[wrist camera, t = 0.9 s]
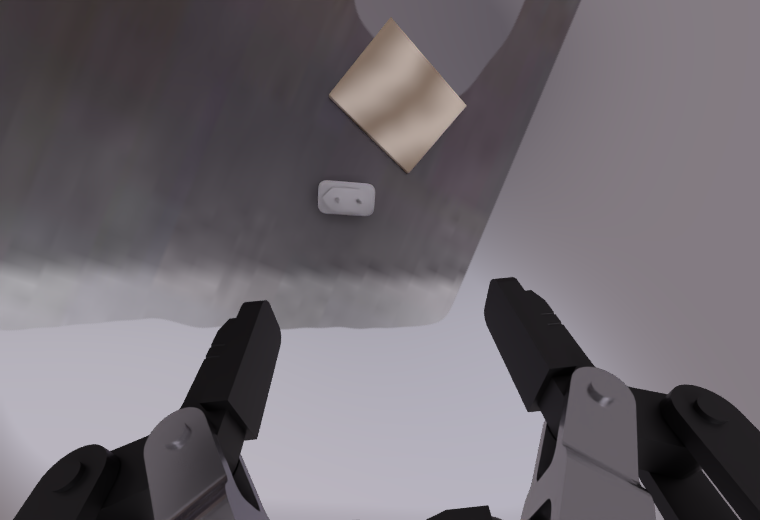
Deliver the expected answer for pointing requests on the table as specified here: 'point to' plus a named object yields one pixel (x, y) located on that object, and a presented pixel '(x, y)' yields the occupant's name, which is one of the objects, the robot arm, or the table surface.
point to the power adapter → (346, 198)
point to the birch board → (397, 97)
